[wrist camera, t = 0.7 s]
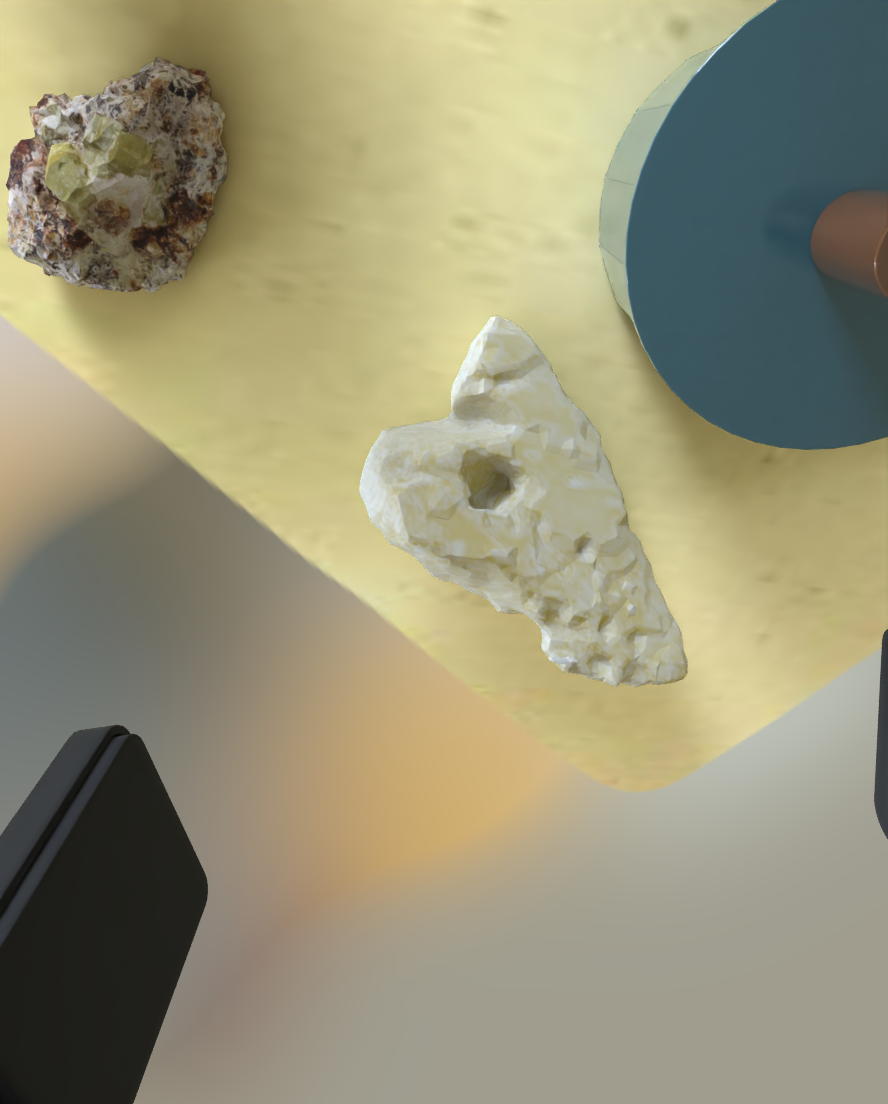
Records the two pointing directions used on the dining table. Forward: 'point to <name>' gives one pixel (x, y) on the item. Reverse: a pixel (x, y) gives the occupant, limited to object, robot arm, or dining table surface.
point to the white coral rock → (526, 514)
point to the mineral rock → (119, 180)
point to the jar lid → (772, 230)
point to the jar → (633, 172)
